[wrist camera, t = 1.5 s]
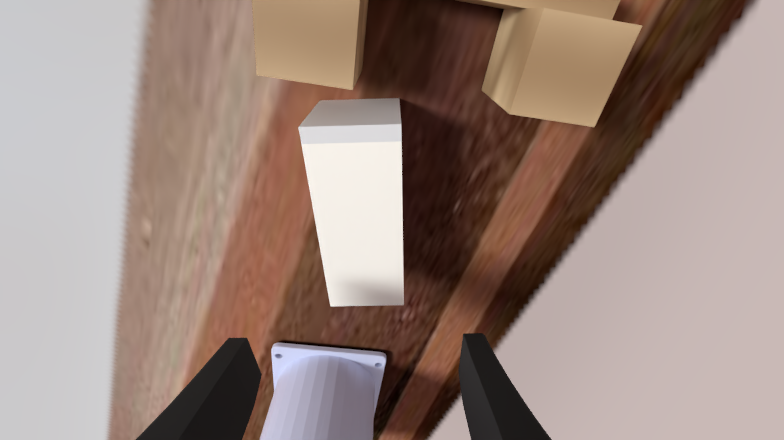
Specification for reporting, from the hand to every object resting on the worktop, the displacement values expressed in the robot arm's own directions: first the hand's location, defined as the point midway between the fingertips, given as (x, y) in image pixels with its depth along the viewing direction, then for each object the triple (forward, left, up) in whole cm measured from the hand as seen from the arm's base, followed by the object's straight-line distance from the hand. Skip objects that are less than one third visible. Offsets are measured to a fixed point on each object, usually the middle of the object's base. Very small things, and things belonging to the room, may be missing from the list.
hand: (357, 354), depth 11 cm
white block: (+2, 0, -8) cm, 8 cm away
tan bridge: (+9, -1, -8) cm, 12 cm away
